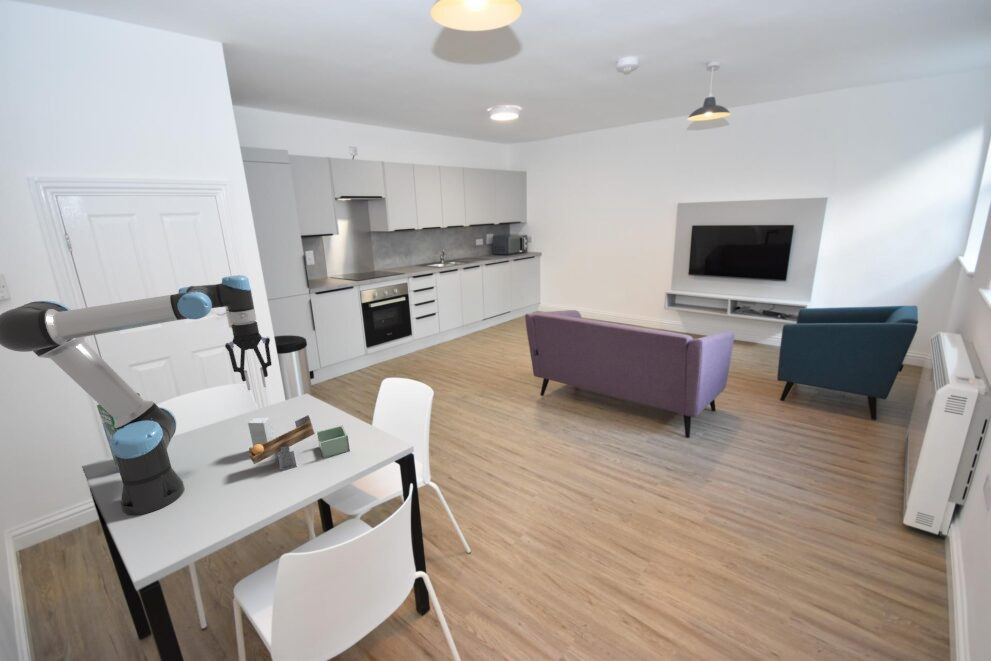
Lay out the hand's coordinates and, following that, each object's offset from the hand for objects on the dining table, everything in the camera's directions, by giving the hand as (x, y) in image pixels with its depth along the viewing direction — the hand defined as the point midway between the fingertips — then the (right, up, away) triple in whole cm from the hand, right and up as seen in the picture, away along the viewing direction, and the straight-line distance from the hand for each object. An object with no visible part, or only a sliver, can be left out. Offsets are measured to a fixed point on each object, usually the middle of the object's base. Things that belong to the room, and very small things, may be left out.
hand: (257, 387), depth 150 cm
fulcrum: (+11, -25, -1) cm, 28 cm away
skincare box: (-1, -24, +7) cm, 25 cm away
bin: (+25, -23, +6) cm, 34 cm away
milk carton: (-45, -27, +3) cm, 52 cm away
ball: (+4, -20, -7) cm, 21 cm away
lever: (+9, -18, +1) cm, 20 cm away
